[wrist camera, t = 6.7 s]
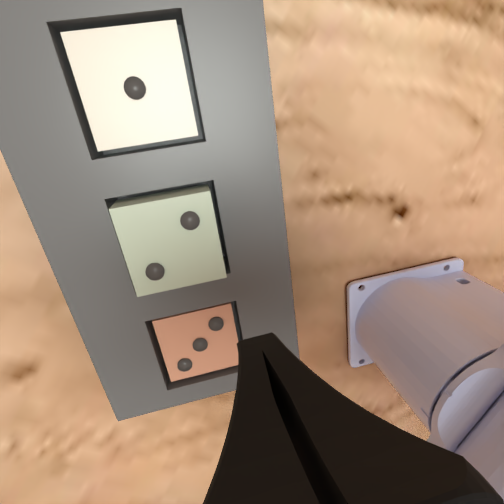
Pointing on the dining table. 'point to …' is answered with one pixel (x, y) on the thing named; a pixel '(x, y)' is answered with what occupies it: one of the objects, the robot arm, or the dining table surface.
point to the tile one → (132, 83)
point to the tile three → (198, 341)
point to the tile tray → (149, 184)
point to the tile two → (169, 239)
